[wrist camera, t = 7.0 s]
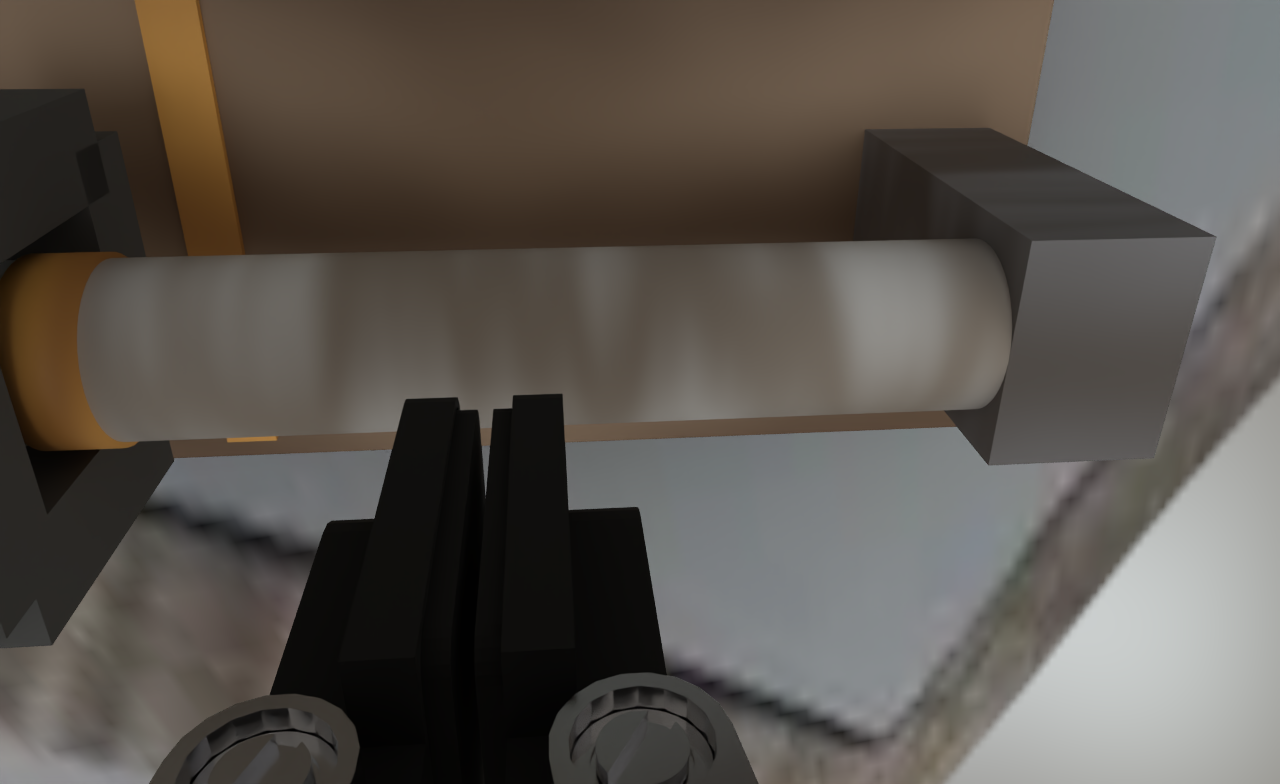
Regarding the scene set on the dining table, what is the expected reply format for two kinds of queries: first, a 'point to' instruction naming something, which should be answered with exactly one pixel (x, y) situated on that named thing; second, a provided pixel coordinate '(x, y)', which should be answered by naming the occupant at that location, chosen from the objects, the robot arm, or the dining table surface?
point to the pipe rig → (587, 228)
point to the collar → (3, 466)
